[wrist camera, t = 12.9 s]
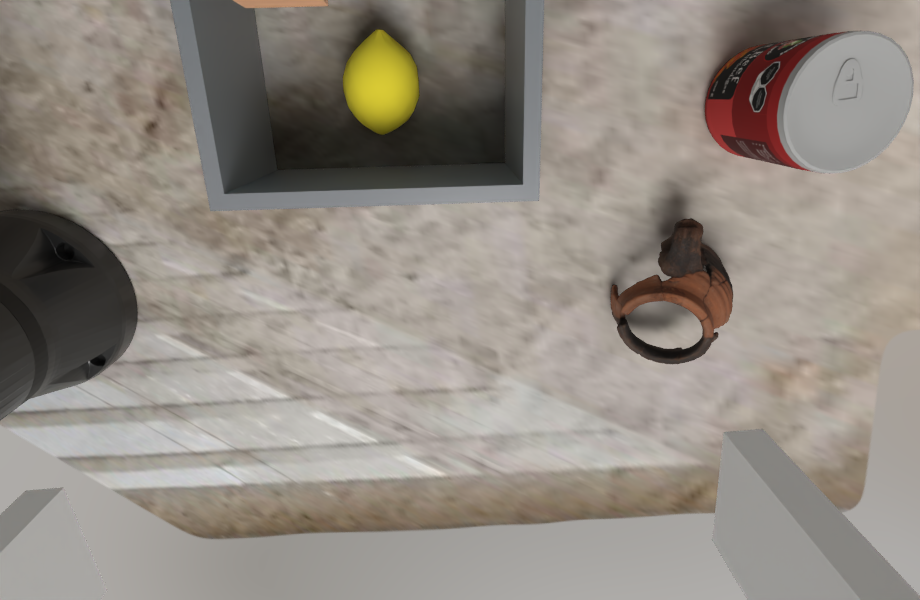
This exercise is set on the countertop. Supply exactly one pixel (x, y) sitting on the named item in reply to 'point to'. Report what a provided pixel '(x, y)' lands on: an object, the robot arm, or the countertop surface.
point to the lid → (280, 3)
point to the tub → (264, 187)
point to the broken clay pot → (680, 293)
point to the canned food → (812, 101)
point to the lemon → (381, 83)
